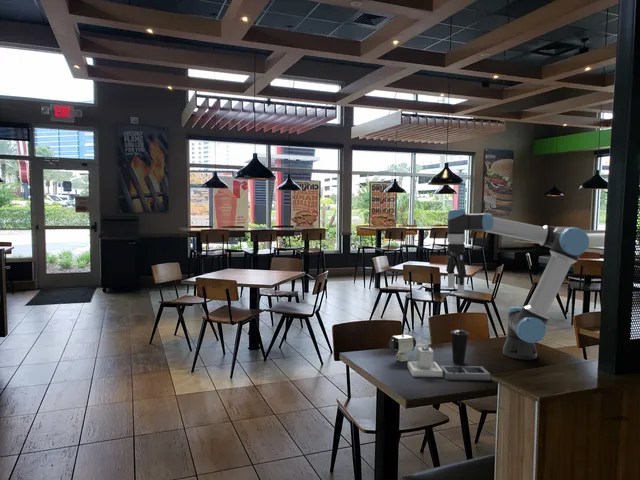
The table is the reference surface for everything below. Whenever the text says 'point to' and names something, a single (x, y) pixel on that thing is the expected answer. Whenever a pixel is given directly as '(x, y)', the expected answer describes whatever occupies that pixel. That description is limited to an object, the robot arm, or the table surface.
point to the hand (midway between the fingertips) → (455, 289)
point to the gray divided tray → (465, 373)
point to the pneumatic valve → (402, 346)
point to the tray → (425, 373)
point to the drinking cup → (459, 344)
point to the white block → (424, 358)
